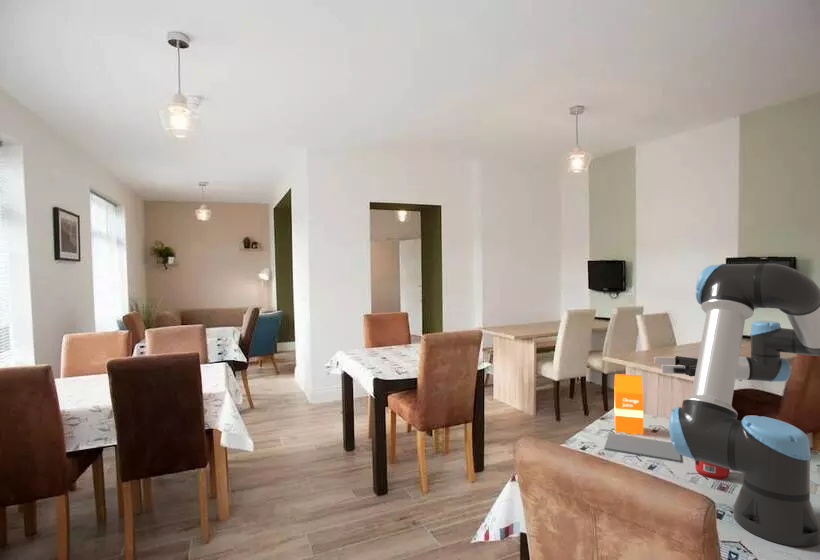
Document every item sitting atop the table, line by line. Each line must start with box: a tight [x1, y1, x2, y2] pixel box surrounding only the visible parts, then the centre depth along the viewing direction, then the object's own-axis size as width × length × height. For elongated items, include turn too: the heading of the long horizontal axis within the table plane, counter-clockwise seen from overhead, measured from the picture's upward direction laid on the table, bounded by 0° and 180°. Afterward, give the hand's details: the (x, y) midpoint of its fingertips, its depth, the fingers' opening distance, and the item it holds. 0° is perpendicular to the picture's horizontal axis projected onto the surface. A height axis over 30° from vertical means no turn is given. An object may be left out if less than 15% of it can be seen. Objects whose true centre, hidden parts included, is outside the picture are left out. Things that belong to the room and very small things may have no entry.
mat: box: [604, 433, 682, 463], centre depth 145 cm, size 14×21×1 cm, turn 60°
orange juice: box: [613, 373, 644, 435], centre depth 160 cm, size 8×9×20 cm
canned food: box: [694, 460, 730, 480], centre depth 126 cm, size 8×8×11 cm
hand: (657, 364), depth 156 cm, fingers open, 13 cm apart
